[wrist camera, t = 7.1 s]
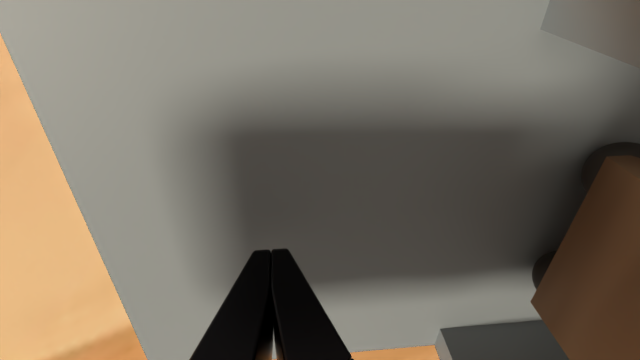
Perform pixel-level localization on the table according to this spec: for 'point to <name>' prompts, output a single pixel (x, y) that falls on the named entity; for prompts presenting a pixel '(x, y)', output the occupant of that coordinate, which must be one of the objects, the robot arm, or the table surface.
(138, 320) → the dock
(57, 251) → the table surface
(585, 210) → the block
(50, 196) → the table surface
